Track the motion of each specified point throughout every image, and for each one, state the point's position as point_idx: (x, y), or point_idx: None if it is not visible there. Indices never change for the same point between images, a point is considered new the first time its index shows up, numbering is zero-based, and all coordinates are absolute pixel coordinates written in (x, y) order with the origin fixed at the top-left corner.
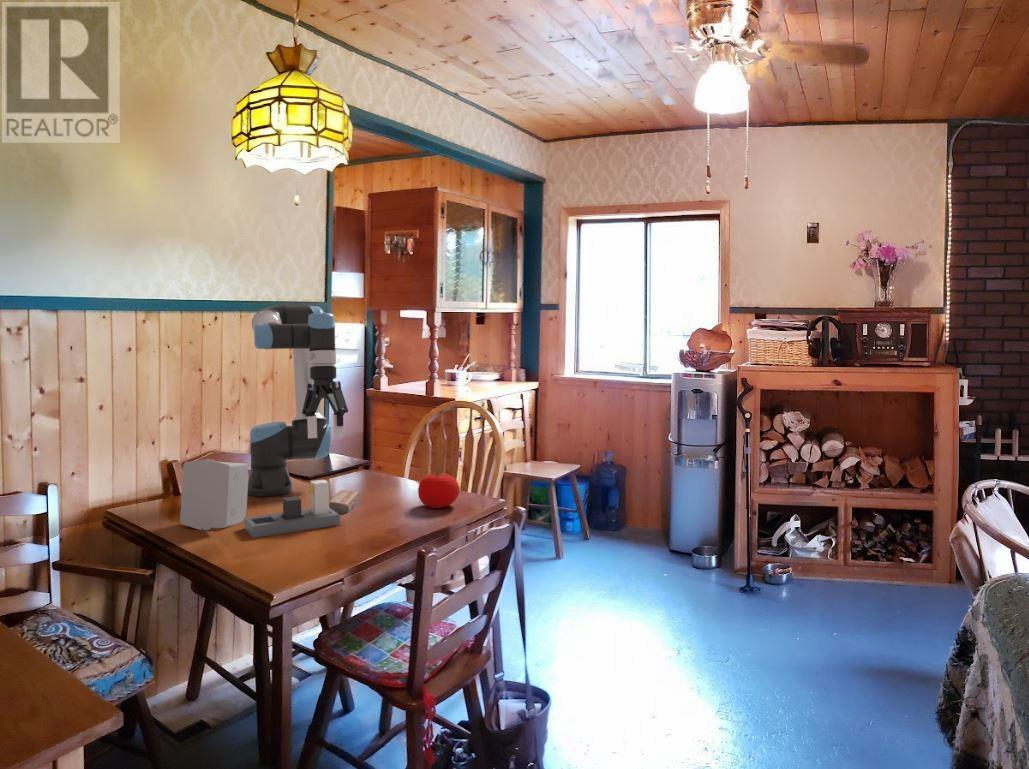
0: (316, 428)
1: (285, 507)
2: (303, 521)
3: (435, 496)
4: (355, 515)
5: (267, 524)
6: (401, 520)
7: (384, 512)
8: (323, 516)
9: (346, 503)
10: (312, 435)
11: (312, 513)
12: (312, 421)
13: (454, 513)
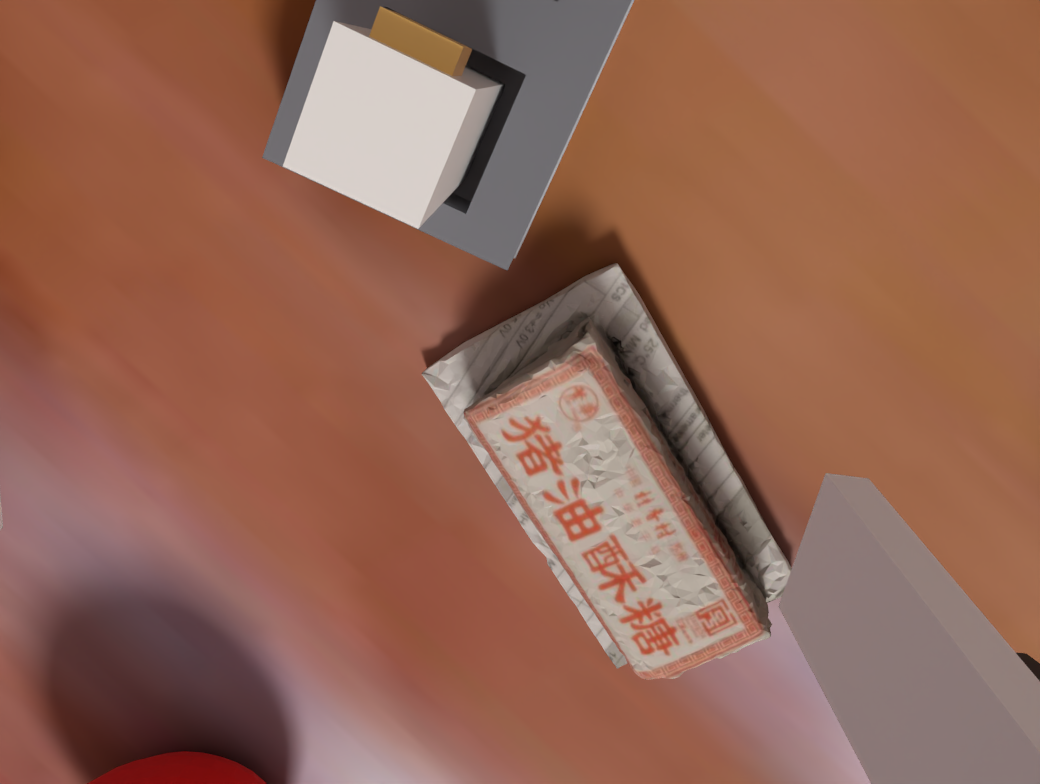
0: (844, 719)
1: None
2: None
3: None
4: (444, 425)
5: None
6: (137, 496)
7: (350, 567)
8: (312, 42)
9: (490, 430)
10: (823, 557)
11: (466, 68)
12: (951, 773)
13: (31, 745)
